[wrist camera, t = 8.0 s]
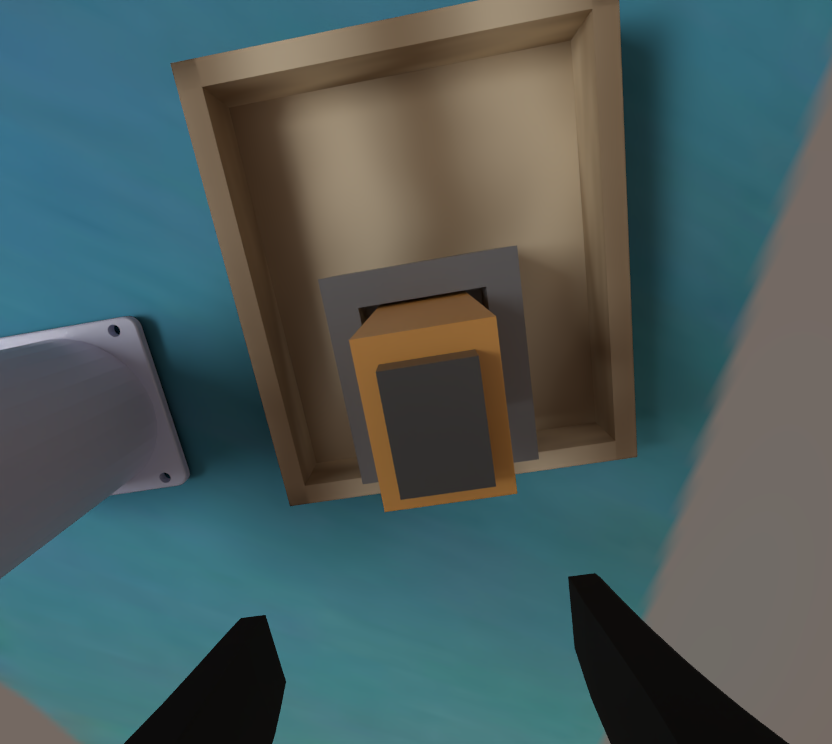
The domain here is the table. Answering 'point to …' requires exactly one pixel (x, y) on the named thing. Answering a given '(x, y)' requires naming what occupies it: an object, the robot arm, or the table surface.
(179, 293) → the table surface
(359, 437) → the inlet socket
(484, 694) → the table surface
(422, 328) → the plug
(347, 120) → the walled box
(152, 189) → the table surface
